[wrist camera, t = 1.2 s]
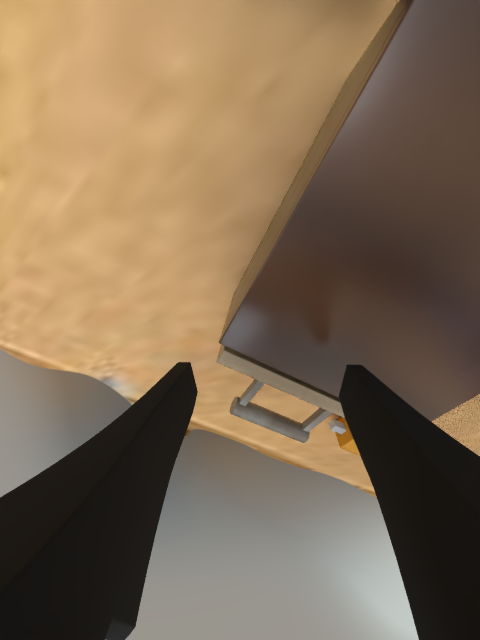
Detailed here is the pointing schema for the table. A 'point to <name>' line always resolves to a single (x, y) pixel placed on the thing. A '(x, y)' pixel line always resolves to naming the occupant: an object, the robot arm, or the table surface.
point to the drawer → (283, 383)
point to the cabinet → (382, 225)
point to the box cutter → (344, 435)
